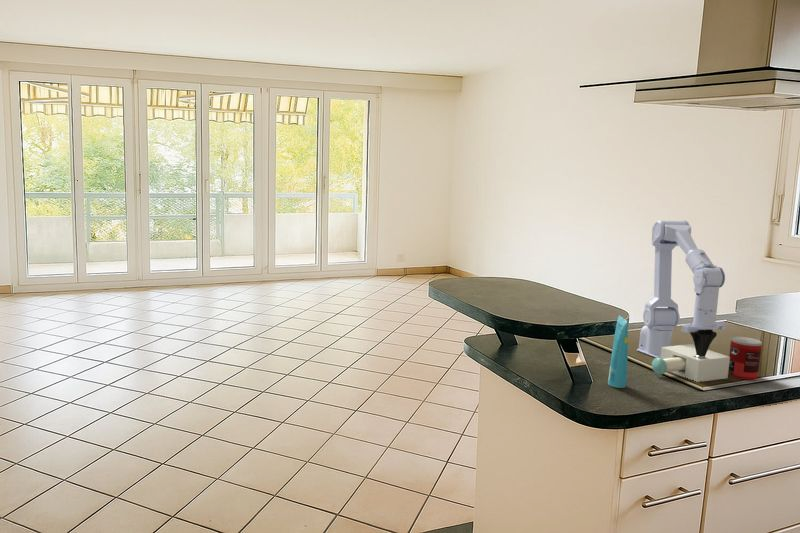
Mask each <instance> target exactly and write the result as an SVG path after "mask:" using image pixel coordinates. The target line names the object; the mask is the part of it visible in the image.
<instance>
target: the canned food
mask: <svg viewBox="0 0 800 533" xmlns="http://www.w3.org/2000/svg"><path fill="white" fill-rule="evenodd" d="M762 346H763V343H762V341H761V340H759V339H756V338H752V337H746V336H732V337H731V339H730V345H729V355H728V356H729V357H730V361H729V369H728V375H729V376H730V377H732V378H735V379H738V378H739V380H743V379H744V380H745V381H755V380H757V379H758V377H759V370H760V364H761V355H762V349H763V348H762ZM754 379H755V380H754Z"/></svg>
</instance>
